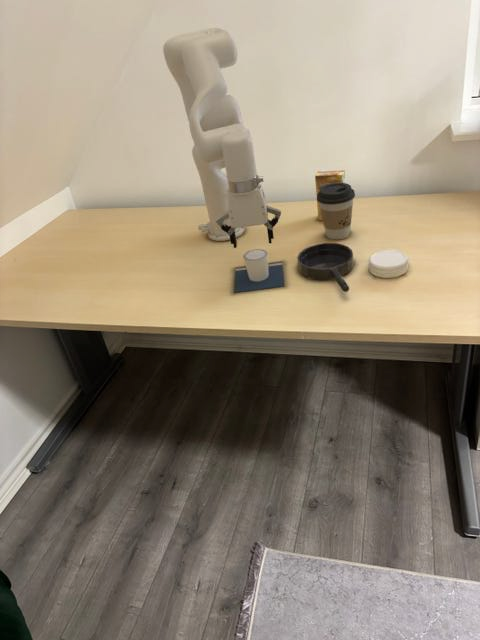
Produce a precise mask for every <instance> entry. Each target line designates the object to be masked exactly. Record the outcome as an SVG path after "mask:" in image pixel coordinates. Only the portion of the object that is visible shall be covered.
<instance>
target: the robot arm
mask: <svg viewBox="0 0 480 640" xmlns="http://www.w3.org/2000/svg"><path fill="white" fill-rule="evenodd" d="M162 48H163V49H162V51H163V56H164V60H165V64H166V66H167V68H168V71H169V72H170V74H171V76H172V78H173V79H174V81H175V82H176V84H177V86H178V88H179V91H180V94H181V97H182V101H183V105H184V109H185V113H186V116H187V121H188V124H189V125H188V127H189V132H190V136H191V138H192V141H193V144H194V145H193V146H192V149H191V155H192V159H193V161H194V164H195V167H196V170H197V173H198V176H199V179H200V182H201V187H202V191H203V196H204V201H205V205H206V211H207V215H208V219H209V221H208V222H206V223H200V224H198V225H197V228H198V231H200V232H201V233H205V232H207V237H208V238H209V239H210V240H211V241H218V242H225V241H230V244H231V245H233V249H237V247H238V241H237V238H238V237H240V236H242V235H243V234H244V232H245V231H246V230H245V228H249V227H256V226H262V225H264V227H265V228H266V232H267V239H268V244H272V240H273V239H274V230H273V229H274V227H275V226H276V225H277V224H278V222H279V220H280V218H281V215H282V210H281V209H278V208H275V207H272V206H269V205H267V201H266V196H265V191H264V189H263V186H262V184H261V183H263V182H264V176H260V175H258V172H257V166H256V158H255V151H254V143H253V139H252V136H251V132H250V130H249V128H247V127H246V125H244V121H243V117H242V113H241V109H240V106H239V103H238V101H237V99H236V98H235V97H234V96H233V95H231V94H228V86H227V83H226V80H225V78H224V75H223V73H222V70H221V69H225V68H229V67H234V66H235V65H236V64H237V61H238V49H237V45H236V42H235V39H234V38H233V37H232V35H231V34H230V33H229V32H228V31H226V30H224V29H222V28H221V27H212V28H206V29H201V30H197V31H191V32H186V33H182V34H178V35H175V36H172V37H170V38H168V39H167V40H166V41H164V44H163V47H162ZM222 169H225V172H224V171H222ZM269 214H271V215H274V216H273V217H272V218H271V219H270V218H268V217H269Z"/></svg>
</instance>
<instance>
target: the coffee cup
mask: <svg viewBox="0 0 480 640" xmlns="http://www.w3.org/2000/svg"><path fill="white" fill-rule="evenodd" d="M355 197H356V193H355V190H354V189H353V188H352V186H351V185H350V184H349V183H347V182H345V183H331V184H327V185H325V186H323V187H321V188H320V190H319V193H318V194H316V202H317V201H318V202H319V205H320V209H321V214H322V219H323V220H322V222H323V228H324V232H325V233H324V234H325V235H326V238H328V239H329V240H336V241H337V240H344V239H346V238H348V237H349V236H350V233H351V226H352V217H353V205H354V198H355Z"/></svg>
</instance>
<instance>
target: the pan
mask: <svg viewBox="0 0 480 640" xmlns="http://www.w3.org/2000/svg"><path fill="white" fill-rule="evenodd" d="M354 262H355V261H354V251H353V250H352V249H351V248H350V247H349V246H348V245H345V244H342V243H337V242H323V243H322V242H321V243H316V244H312V245H310V246H308V247H306V248H304V249H302V251H300V252H299V253H298V255H297V266H298V267H297V268H298V272H299V273H300V274H301V275H302V276H304V277H305V278H308V279H310V280H315V281H328V280H335V278H334V277H333V275H332V273H331V272H330V268H333V267H334V268H335V267H336V268H337V270H338V271H339V273H340V274H341V276H342V277H343V276H345V275H346V274H348V273H349V272H351V270H353V268H354Z"/></svg>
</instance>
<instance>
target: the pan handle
mask: <svg viewBox="0 0 480 640" xmlns="http://www.w3.org/2000/svg"><path fill="white" fill-rule="evenodd" d="M330 272H331V273H332V275H333V277H334V278H335V279H334V280H335V282H336V283H337V284H338V286H339V287H340V289H341V290H342V292H343V293H347V292H349V290H350V286H349V285H348V283H347V282H346V280H345V279H344V277H343V276H341V274H340V273H339V271H338V270H337V268H336V267H335V268H334V267H333V268H330Z"/></svg>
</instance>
